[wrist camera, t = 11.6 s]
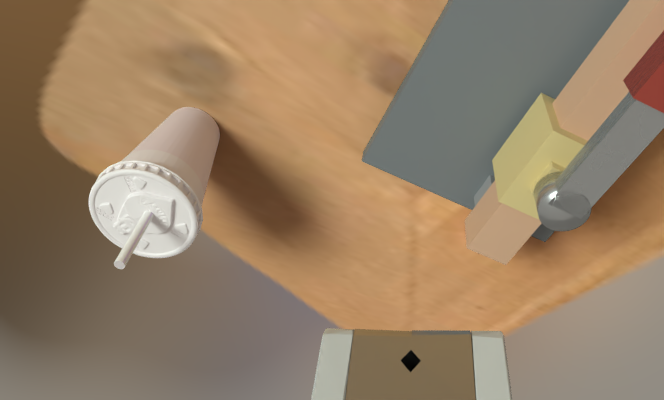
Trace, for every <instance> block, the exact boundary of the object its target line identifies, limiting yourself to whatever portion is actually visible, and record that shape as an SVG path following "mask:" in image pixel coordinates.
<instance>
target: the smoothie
mask: <svg viewBox="0 0 664 400" xmlns="http://www.w3.org/2000/svg"><path fill="white" fill-rule="evenodd" d="M219 139H220V132H219V128H218V125H217V123H216V122H215V120H214V119H213V118H212V117H211V116H210V115H209V114H207V113H206V112H204V111H202V110H200V109H197V108H193V107H183V108H180V109H177V110H176V111H174V112H173V113H172V114H171V115H170V116H169V117H168V118H167V119H165V120H164V121H163V122H162V123H161V124H160V125H159V126H158V127H157V128H156V129H155V130H154V131H153V132H152V133H151V134H150V135H149V136H148V137H147V138H145V139H144V140H143V141H142V142H141V143H140V144H139V145H138V146H137V147H136V148H135V149H134V150H133V151H132V152H131V153H130V154H129V155H128V156H126V157H125V158H124V159H123V160H122V161H121V162H118V163H116V164H113V165H111V166H109V167H108V168H106V169H105V170H104V171H103V172H102V173H101V174H100V175H99V177H98V179H97V181H96V183H95V184H94V185H93V187H92V189H91V191H90V195H89V209H90V213H91V216H92V218H93V221H94V222H95V224H96V225H97V227H98V228H99V230H100V231H101V232H102V233H103V234H104V235H105V237H107V238H108V239H109V240H110V241H111V242H113V243H114V244H115V245H117V246H119V247H120V248H122V250H121V252H120V254H119V256H118V257H117V259H116V260H115V262H114V265H115V266H116V267H117V268H119V269H123V268H124V267H125V265H126V264H127V262H128V260H129V259H130V257H131V255H132V253H133V254H136V255H139V256H143V257H149V258H166V257H171V256H175V255H177V254H179V253H181V252H183V251H185V250H186V249H187V248H188V247H189V246H190V245H191V244H192V243H193V241H194V239H195V237H196V235H197V234H198V232H199V231H200V228H201V225H202V221H203V215H202V207H201V206H202V203H203V199H204V195H205V191H206V187H207V184H208V180H209V176H210V173H211V169H212V165H213V161H214V158H215V154H216V150H217V147H218V143H219Z"/></svg>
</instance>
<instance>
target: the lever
mask: <svg viewBox="0 0 664 400" xmlns="http://www.w3.org/2000/svg"><path fill="white" fill-rule="evenodd" d="M623 81H624V83H625V85H626V87H627V88H628V90H629V92H628V94H627V95H626V96H625V97H624V98H623V100H622V101H621V102H620V103H619V104H618V106H617V107H616V108H615V109H614V110H613V112H612V113H611V114H610V115H609V116H608V118H607V119H606V120H605V121H604V122H603V124H602V125H601V126H600V127H599V128H598V130H597V131H596V132H595V133H594V134H593V136H592V137H591V138H590V139H589V140H588V142H587V143H586V144H585V145H584V146H583V148H582V149H581V150H580V151H579V152H578V154H577V155H576V156H575V157H574V158H573V160H572V161H571V162H570V163H569V165H568V166H567V167H566V168H565V169H564V171H559V172H553V173H550V174H548V175H546V176H544V177H543V178H541V179H540V180H539V181H538V183H537V184H536V186H535V188H534V199H535V203H536V208H537V212H538V216H539V220H540V221H541V223H542V224H543V225H544V226H545V227H547V228H549V229H551V230H554V231H569V230H573V229H576V228H578V227H579V226H581V225H582V224H584V223H585V222H586V221H587V219H588V218H589V216H590V213H591V208H592V206H593V205H594V204H595V203H596V202H597V201H598V200H599V199H600V198H601V197H602V195H603V194H604V193H605V192H606V191H607V190H608V189H609V188H610V187H611V185H612V184H613V183H614V182H615V181H616V180H617V179H618V178H619V177H620V176H621V174H622V173H623V172H624V171H625V170H626V169H627V168H628V167H629V166H630V165H631V163H632V162H633V161H634V160H635V159H636V158H637V157H638V156H639V155H640V154H641V152H642V151H643V150H644V149H645V148H646V147H647V146H648V145H649V144H650V143H651V141H652V140H653V139H654V138H655V137H656V136H657V135H658V134H659V133H660V132H661V130H662V129H663V128H664V31H663V32H662V33H661V34H660V36H659V37H658V38H657V39H656V40H655V42H654V43H653V44H652V45H651V47H650V48H649V49H648V50H647V52H646V53H645V54H644V55H643V56H642V58H641V59H640V60H639V61H638V63H637V64H636V65H635V66H634V67H633V69H632V70H631V71H630V72H629V74H628V75H627V76H626V77H625V79H624V80H623Z"/></svg>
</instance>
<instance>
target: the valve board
mask: <svg viewBox="0 0 664 400" xmlns="http://www.w3.org/2000/svg"><path fill="white" fill-rule="evenodd" d="M663 31H664V0H449V1H448V3H447V5H446V6H445V8H444V10H443V12H442V13H441V15H440V17H439V19H438V20H437V22H436V24H435V26H434V28H433V29H432V31H431V33H430V35H429V36H428V38H427V40H426V42H425V43H424V45H423V47H422V49H421V51H420V52H419V54H418V56H417V58H416V59H415V61H414V63H413V65H412V67H411V68H410V70H409V72H408V74H407V75H406V77H405V79H404V81H403V82H402V84H401V86H400V88H399V90H398V91H397V93H396V95H395V97H394V98H393V100H392V102H391V104H390V105H389V107H388V109H387V111H386V113H385V114H384V116H383V118H382V120H381V121H380V123H379V125H378V127H377V128H376V130H375V132H374V134H373V136H372V137H371V139H370V141H369V143H368V144H367V146H366V148H365V150H364V151H363V157H362V161H363V162H365V163H367V164H369V165H372V166H374V167H376V168H378V169H381V170H383V171H385V172H387V173H390V174H392V175H394V176H397V177H399V178H401V179H403V180H406V181H408V182H410V183H412V184H415V185H417V186H419V187H421V188H424V189H426V190H428V191H431V192H433V193H435V194H437V195H440V196H442V197H444V198H446V199H449V200H451V201H453V202H455V203H458V204H460V205H462V206H464V207H467V208H469V209H471V210H472V211H471V213H470V214H469V215H468V217H467V218H466V219H465V233H466V246H467V249H470V250H472V251H474V252H477V253H479V254H481V255H484V256H486V257H488V258H491V259H493V260H495V261H498V262H500V263H502V264H505V265H506V264H507V263H508V262H509V261H510V260H511V259H512V257H513V256H514V255H515V254H516V253H517V251H518V250H519V249H520V248H521V247H522V246H523V244H524V243H525V242H526V241H527V240H528V239H529V237H530V236H532V237H535V238H537V239H539V240H541V241H544V242H546V240H547V239H548V238H549V237H550V236H551V235H552V234H553V232H554V230H551V229H549V228H547V227H545V226H544V225H543V224H542V223H541V221H540V220H539V216H538V212H537V208H536V203H535V199H534V188H535V186H536V184H537V183H538V181H539V180H540V179H541V178H543V177H544V176H546V175H548V174H550V173H553V172H559V171H564V169H565V168H566V167H567V166H568V165H569V163H570V162H571V161H572V160H573V158H574V157H575V156H576V155H577V154H578V152H579V151H580V150H581V149H582V148H583V146H584V145H585V144H586V143H587V142H588V140H589V139H590V138H591V137H592V136H593V134H594V133H595V132H596V131H597V130H598V128H599V127H600V126H601V125H602V124H603V122H604V121H605V120H606V119H607V118H608V116H609V115H610V114H611V113H612V112H613V110H614V109H615V108H616V107H617V106H618V104H619V103H620V102H621V101H622V100H623V98H624V97H625V96H626V95H627V94H628V92H629V90H628V88H627V87H626V85H625V83H624V81H623V80H624V79H625V77H626V76H627V75H628V74H629V72H630V71H631V70H632V69H633V67H634V66H635V65H636V64H637V63H638V61H639V60H640V59H641V58H642V56H643V55H644V54H645V53H646V52H647V50H648V49H649V48H650V47H651V45H652V44H653V43H654V42H655V40H656V39H657V38H658V37H659V36H660V34H661V33H662V32H663Z"/></svg>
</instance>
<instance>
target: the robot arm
mask: <svg viewBox="0 0 664 400" xmlns="http://www.w3.org/2000/svg"><path fill="white" fill-rule="evenodd" d="M311 400H512V394H511V386H510V379H509V372H508V364H507V356H506V348H505V340H504V335H503V334H502V332H501V331H471V333H470V331H392V330H366V329H327V328H326V330H325V332H324V334H323V336H322V342H321V348H320V354H319V359H318V364H317V371H316V376H315V381H314V387H313V393H312V398H311Z"/></svg>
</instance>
